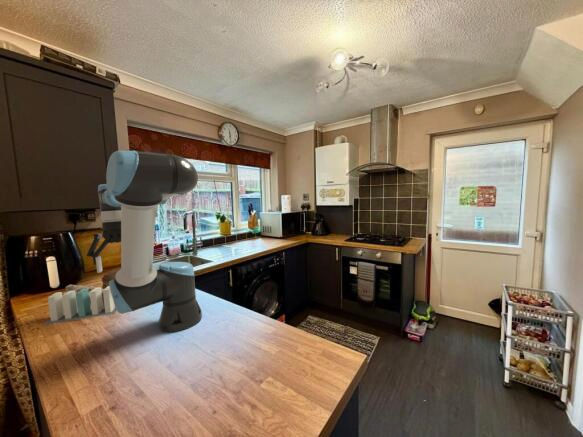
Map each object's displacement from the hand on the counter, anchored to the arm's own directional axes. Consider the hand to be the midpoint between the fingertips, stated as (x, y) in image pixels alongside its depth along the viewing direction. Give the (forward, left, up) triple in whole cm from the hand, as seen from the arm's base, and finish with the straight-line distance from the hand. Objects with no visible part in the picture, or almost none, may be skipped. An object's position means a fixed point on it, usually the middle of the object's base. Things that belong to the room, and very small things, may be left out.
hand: (118, 269), depth 102 cm
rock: (+28, +6, -19) cm, 34 cm away
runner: (+10, +10, -18) cm, 23 cm away
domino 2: (+13, +14, -18) cm, 26 cm away
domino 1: (+16, +17, -18) cm, 29 cm away
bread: (+14, -11, -19) cm, 25 cm away
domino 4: (+4, +3, -18) cm, 18 cm away
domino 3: (+7, +7, -18) cm, 20 cm away
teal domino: (+10, +10, -18) cm, 23 cm away
